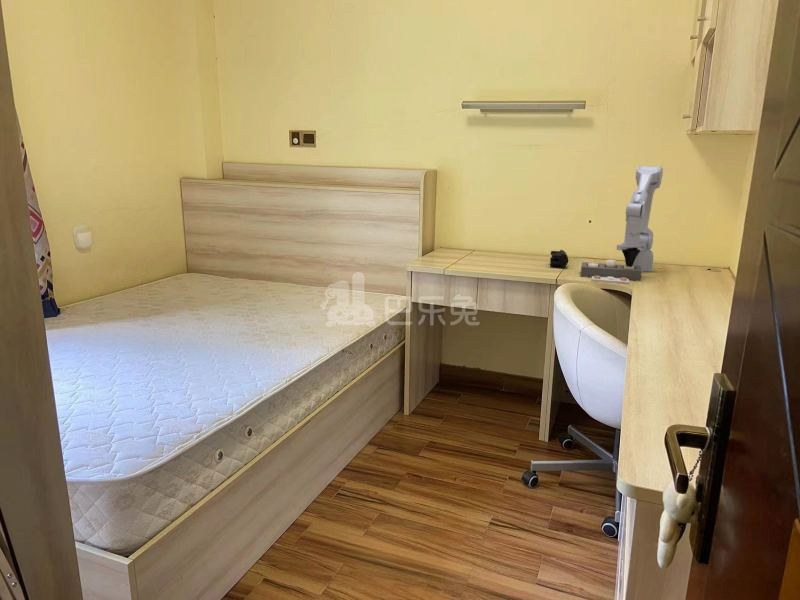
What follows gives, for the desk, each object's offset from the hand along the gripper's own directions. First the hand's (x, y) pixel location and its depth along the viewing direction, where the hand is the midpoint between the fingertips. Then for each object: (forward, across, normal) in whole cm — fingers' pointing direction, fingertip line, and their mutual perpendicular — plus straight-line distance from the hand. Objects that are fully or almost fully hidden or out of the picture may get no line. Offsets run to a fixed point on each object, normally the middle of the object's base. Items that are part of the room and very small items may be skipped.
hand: (629, 266), depth 247 cm
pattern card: (+4, +12, +2) cm, 13 cm away
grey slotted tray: (+4, +5, -5) cm, 8 cm away
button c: (+4, +10, -10) cm, 14 cm away
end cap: (+5, +10, -30) cm, 32 cm away
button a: (+4, 0, 0) cm, 4 cm away
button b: (+2, +5, -5) cm, 7 cm away
